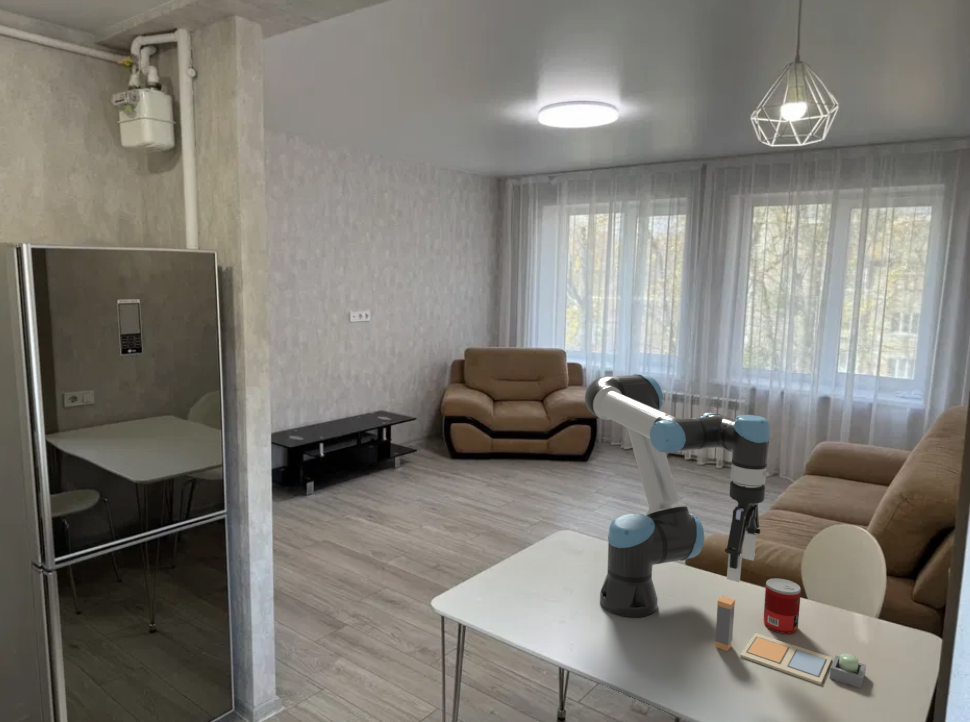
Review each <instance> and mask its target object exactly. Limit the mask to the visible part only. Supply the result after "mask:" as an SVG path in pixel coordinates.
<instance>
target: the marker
mask: <svg viewBox="0 0 970 722" xmlns="http://www.w3.org/2000/svg"><path fill="white" fill-rule="evenodd" d="M735 604H736V599H734V598H731V597H727V596H724V595H721V596H720V597H719V598H718V600H717V604H716V605H717V607H716V608H717V609H716V626H715V627H716V628H715V648H717V649H721V650H722V651H723V650H724V651H725V652H728V651H729V650H730V649H731V647H732V642H733V635H734V634H733V633H734V632H733V631H734V620H735V619H734V616H735Z"/></svg>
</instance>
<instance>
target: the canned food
mask: <svg viewBox="0 0 970 722" xmlns="http://www.w3.org/2000/svg"><path fill="white" fill-rule="evenodd" d="M764 592H765V593H764V605H763V606H764V607H763V623H764V626H765V627H766V628H768V629H770V631H771V630H772V632H776V633H780V634H785V635H786V634H793V633H796V632H797V630H798V627H799V619H800V606H801V594H802V593H801V592H802V591H801V587H800V585H799V584H798V583H796V582H794V581H792V580H789V579H786V578H785V579H784V578H776V577H775V578H770V579H767V580H766V583H765V591H764Z"/></svg>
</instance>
